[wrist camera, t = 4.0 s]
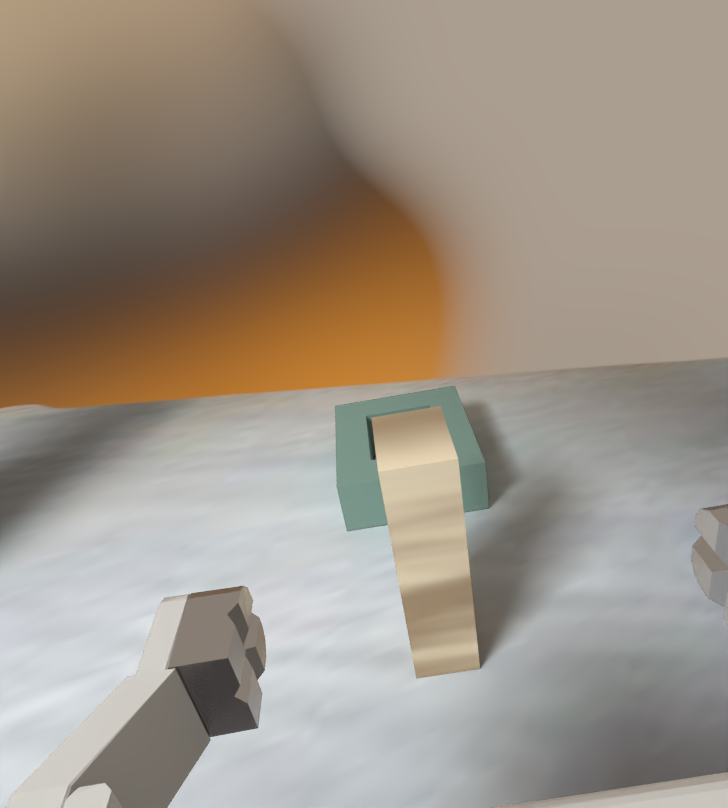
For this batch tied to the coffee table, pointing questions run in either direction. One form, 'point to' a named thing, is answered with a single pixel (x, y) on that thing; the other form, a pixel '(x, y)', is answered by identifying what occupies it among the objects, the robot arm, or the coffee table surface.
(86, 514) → the coffee table surface
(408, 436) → the light wooden block
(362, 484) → the sage square frame
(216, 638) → the robot arm
